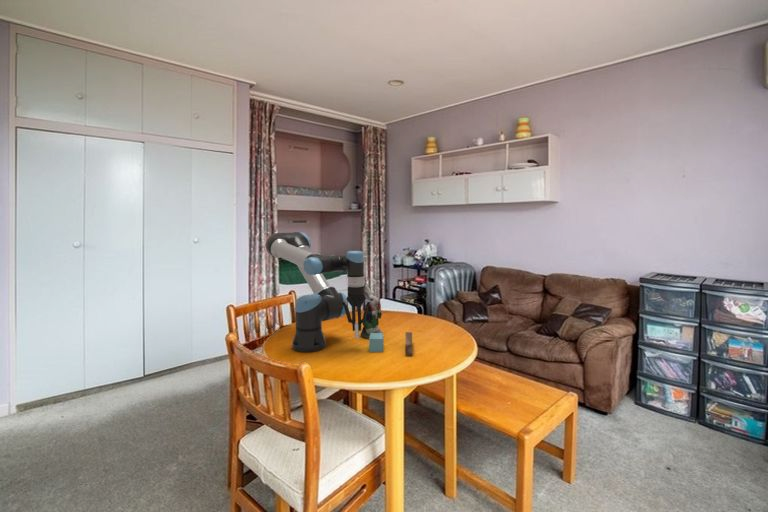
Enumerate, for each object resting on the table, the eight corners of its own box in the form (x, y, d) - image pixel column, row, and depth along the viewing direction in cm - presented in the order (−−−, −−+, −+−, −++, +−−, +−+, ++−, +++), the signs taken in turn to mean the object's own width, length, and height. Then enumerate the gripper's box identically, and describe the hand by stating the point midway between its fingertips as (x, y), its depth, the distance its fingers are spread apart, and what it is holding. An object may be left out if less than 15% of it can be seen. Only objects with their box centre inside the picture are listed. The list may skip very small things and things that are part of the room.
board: (405, 355, 168) (405, 344, 168) (405, 342, 186) (405, 332, 186) (412, 356, 168) (412, 344, 167) (412, 342, 186) (412, 332, 185)
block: (369, 352, 174) (369, 339, 173) (370, 345, 182) (370, 333, 182) (382, 352, 173) (382, 339, 173) (383, 345, 182) (383, 333, 182)
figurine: (379, 342, 191) (386, 292, 187) (353, 338, 193) (359, 288, 190) (384, 335, 201) (390, 288, 198) (359, 331, 204) (365, 284, 200)
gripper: (339, 287, 172) (341, 340, 174) (369, 287, 171) (370, 340, 174) (342, 284, 180) (344, 335, 182) (371, 284, 179) (372, 335, 181)
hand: (357, 337), depth 178 cm, fingers closed
